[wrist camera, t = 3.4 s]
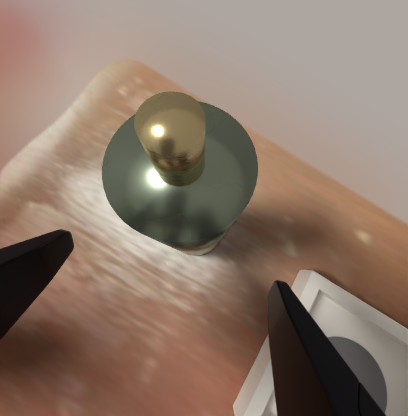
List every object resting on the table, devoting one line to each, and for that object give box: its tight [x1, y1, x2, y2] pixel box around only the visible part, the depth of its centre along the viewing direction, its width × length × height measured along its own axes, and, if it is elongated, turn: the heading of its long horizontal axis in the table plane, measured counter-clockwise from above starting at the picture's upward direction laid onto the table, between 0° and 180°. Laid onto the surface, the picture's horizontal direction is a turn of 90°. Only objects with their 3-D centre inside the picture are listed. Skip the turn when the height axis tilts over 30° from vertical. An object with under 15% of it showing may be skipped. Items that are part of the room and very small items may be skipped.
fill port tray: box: [233, 269, 408, 416], centre depth 15 cm, size 12×12×2 cm
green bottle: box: [102, 92, 258, 256], centre depth 12 cm, size 5×5×15 cm
